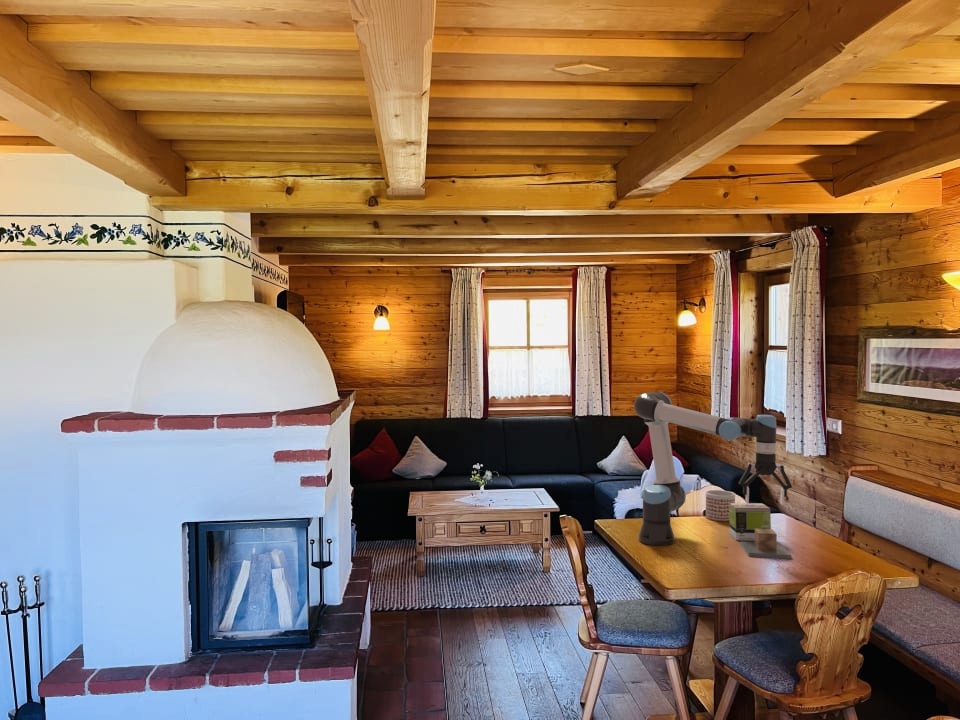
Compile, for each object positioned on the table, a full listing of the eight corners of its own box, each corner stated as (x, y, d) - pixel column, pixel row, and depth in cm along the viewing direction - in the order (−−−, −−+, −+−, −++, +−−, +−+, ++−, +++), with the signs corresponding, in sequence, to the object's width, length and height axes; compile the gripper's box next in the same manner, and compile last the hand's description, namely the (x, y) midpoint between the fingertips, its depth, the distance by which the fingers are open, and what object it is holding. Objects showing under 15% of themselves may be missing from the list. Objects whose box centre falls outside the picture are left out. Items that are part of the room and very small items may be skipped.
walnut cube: (758, 550, 266) (758, 533, 266) (754, 545, 273) (754, 528, 273) (776, 551, 265) (776, 534, 265) (772, 546, 272) (772, 529, 272)
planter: (708, 521, 318) (708, 495, 318) (703, 514, 332) (703, 489, 331) (737, 522, 316) (737, 496, 316) (731, 515, 329) (731, 490, 329)
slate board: (748, 556, 263) (748, 552, 263) (740, 544, 278) (740, 541, 278) (791, 558, 260) (791, 555, 260) (780, 547, 275) (780, 543, 275)
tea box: (763, 535, 293) (763, 502, 293) (771, 541, 283) (771, 508, 283) (729, 534, 295) (729, 502, 295) (735, 540, 285) (735, 507, 285)
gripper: (735, 452, 267) (734, 503, 268) (800, 455, 263) (799, 507, 263) (732, 449, 275) (731, 499, 275) (795, 452, 270) (794, 503, 270)
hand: (764, 503), depth 269 cm, fingers open, 13 cm apart
